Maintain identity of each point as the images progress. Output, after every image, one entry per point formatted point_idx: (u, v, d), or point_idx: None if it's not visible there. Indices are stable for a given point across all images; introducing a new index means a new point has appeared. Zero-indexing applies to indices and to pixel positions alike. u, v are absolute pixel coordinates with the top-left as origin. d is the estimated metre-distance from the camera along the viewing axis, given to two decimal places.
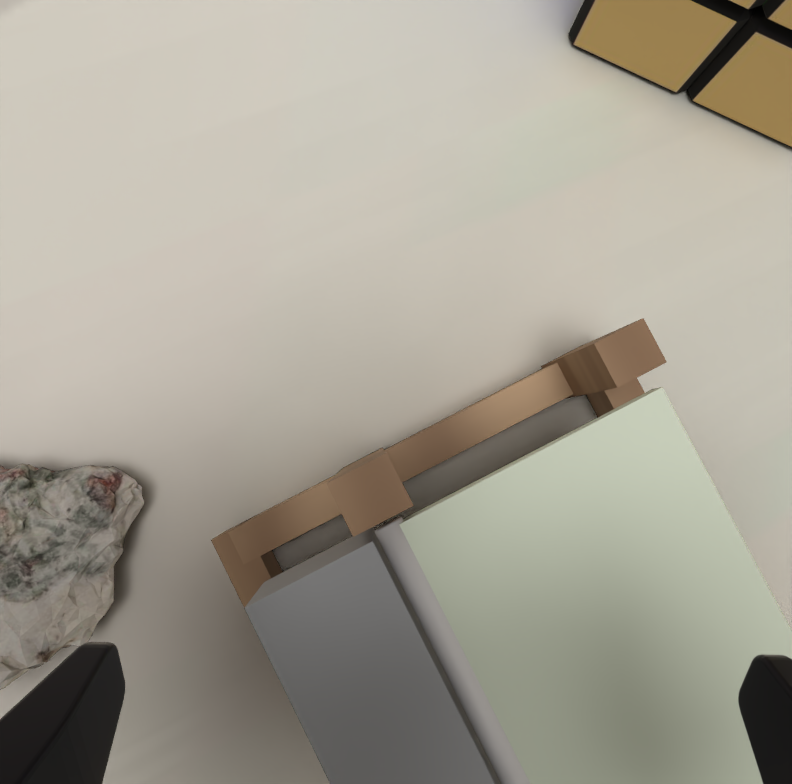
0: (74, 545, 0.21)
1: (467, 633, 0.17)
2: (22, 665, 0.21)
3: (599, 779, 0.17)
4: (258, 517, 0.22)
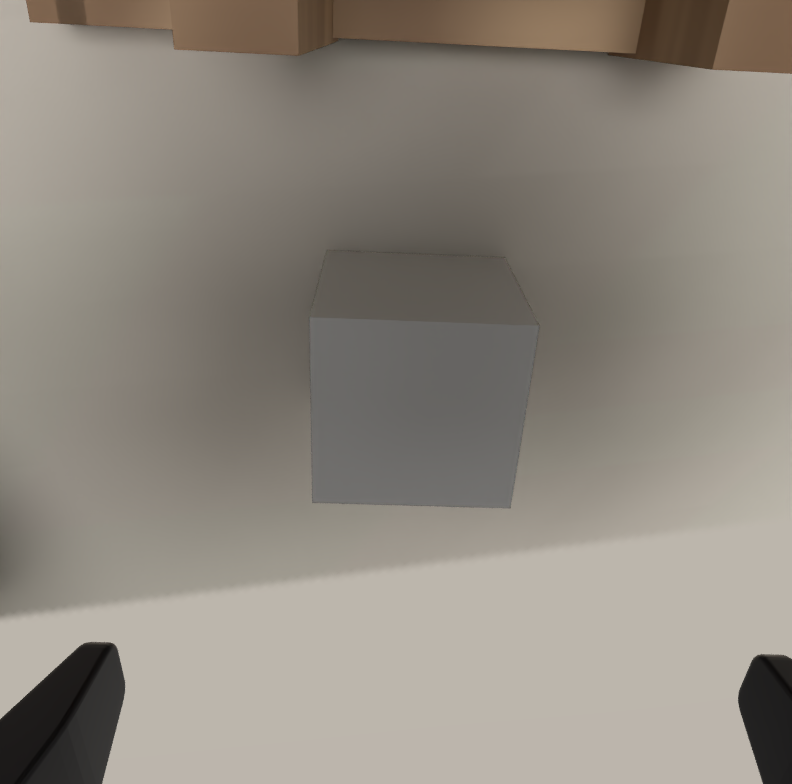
0: None
1: None
2: None
3: None
4: None
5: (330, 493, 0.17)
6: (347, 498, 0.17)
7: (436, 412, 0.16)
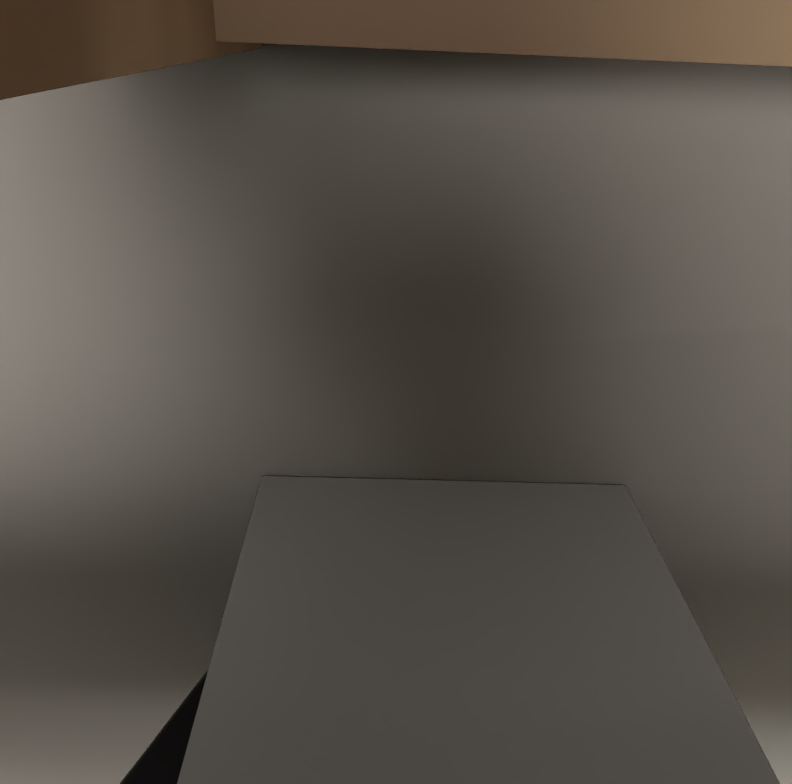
0: None
1: None
2: None
3: None
4: None
5: None
6: None
7: None
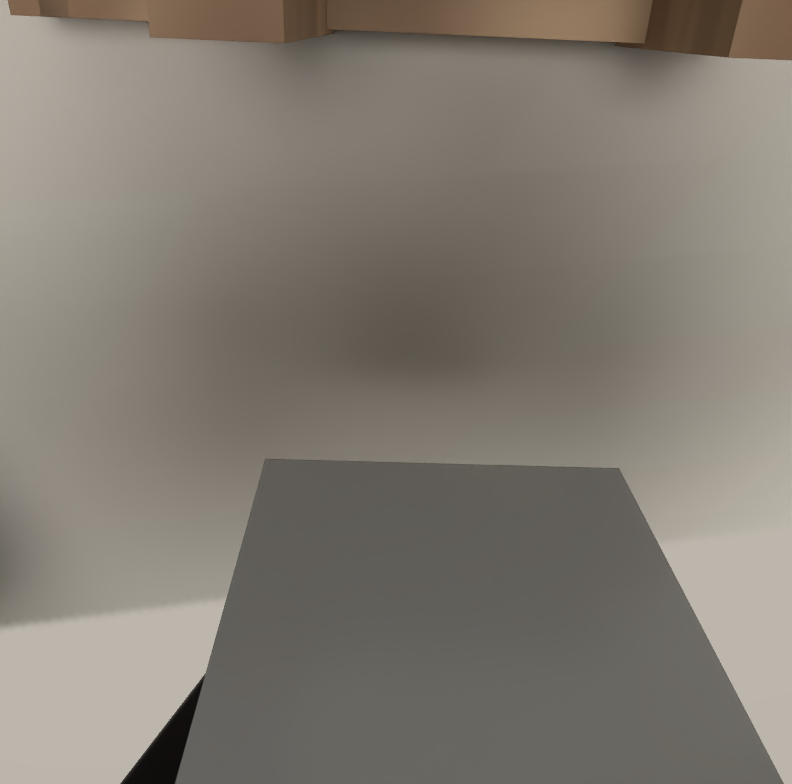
0: None
1: None
2: None
3: None
4: None
5: None
6: None
7: None
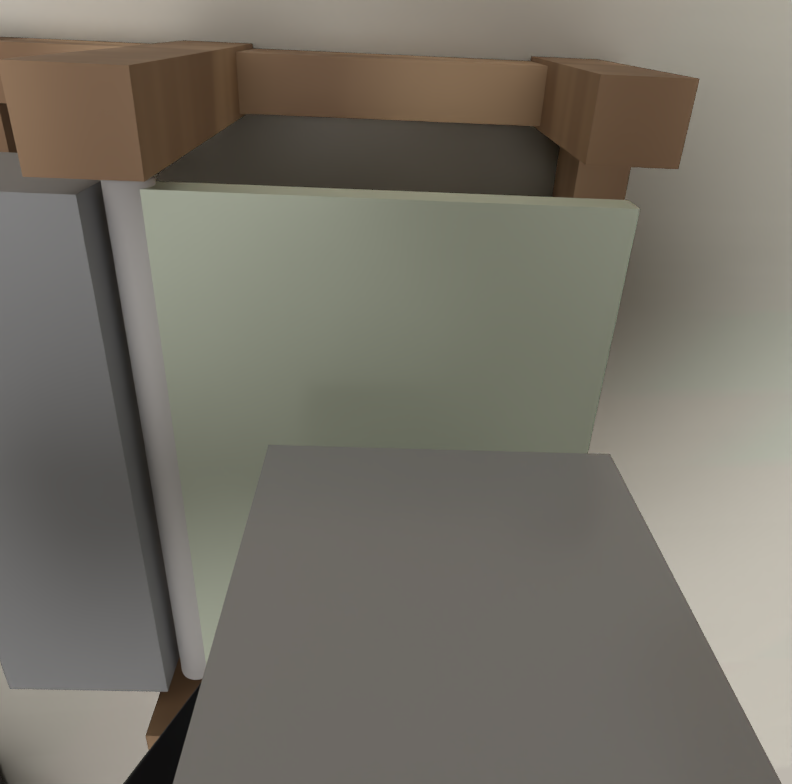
0: None
1: (182, 376, 0.12)
2: None
3: None
4: (9, 44, 0.14)
5: None
6: None
7: None
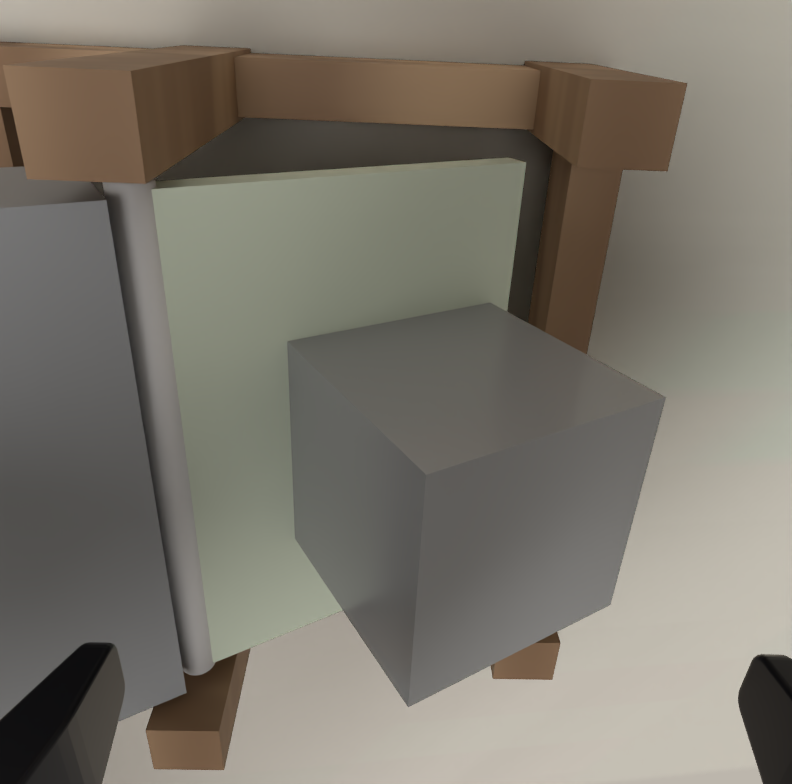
0: None
1: (191, 367, 0.12)
2: None
3: (269, 542, 0.15)
4: (11, 49, 0.14)
5: (429, 684, 0.12)
6: (450, 680, 0.12)
7: (556, 535, 0.12)
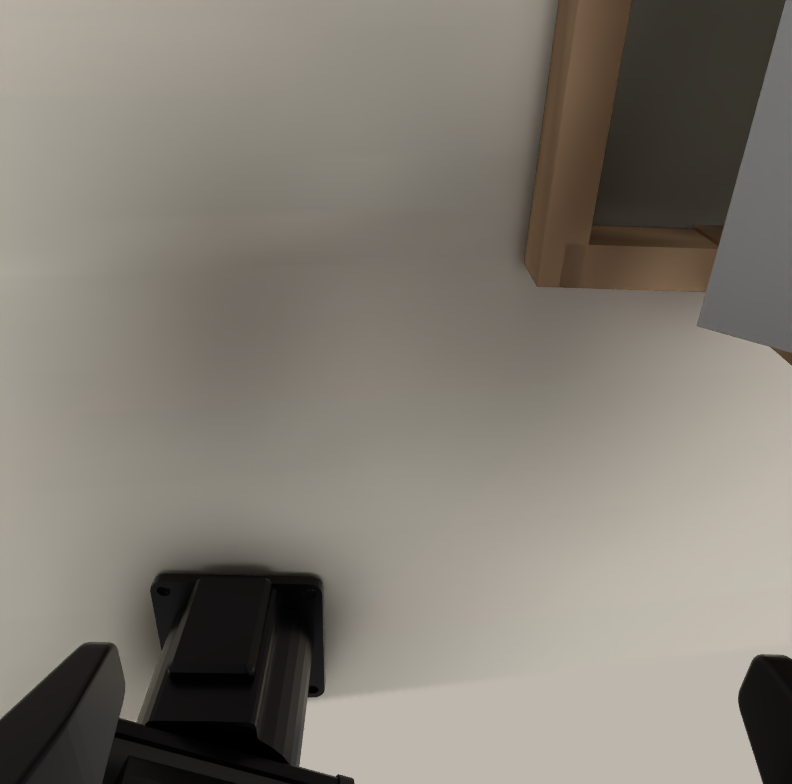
0: None
1: None
2: None
3: None
4: None
5: None
6: None
7: None
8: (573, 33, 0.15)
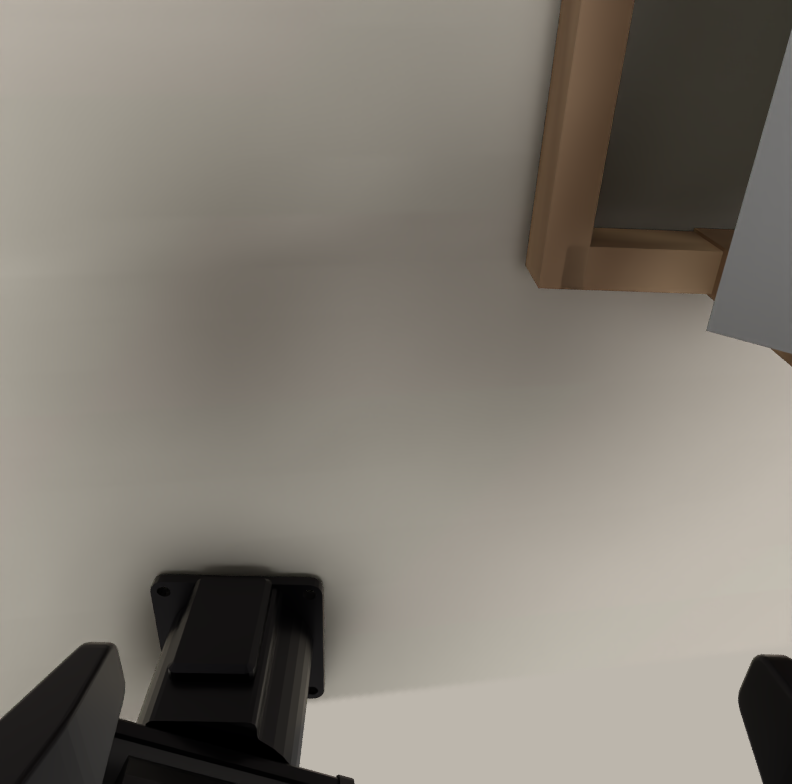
0: None
1: None
2: None
3: None
4: None
5: None
6: None
7: None
8: (575, 36, 0.16)
